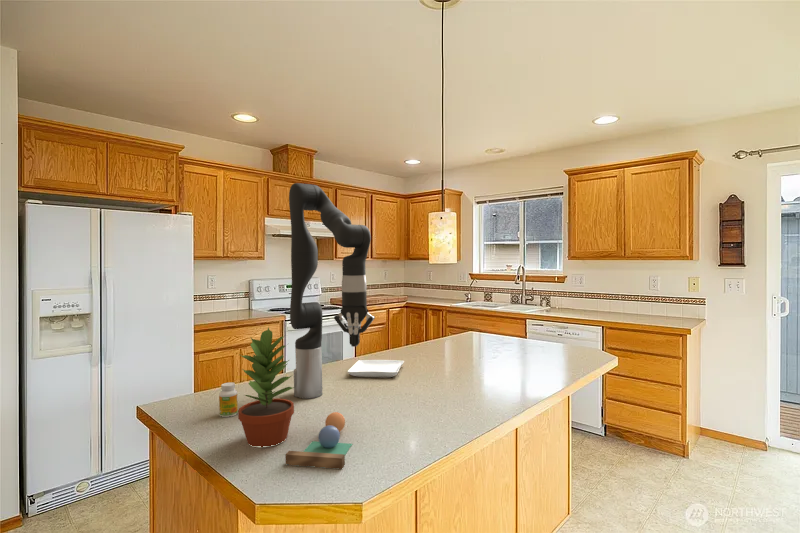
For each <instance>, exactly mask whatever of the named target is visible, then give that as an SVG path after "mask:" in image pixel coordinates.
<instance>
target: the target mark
mask: <svg viewBox="0 0 800 533" xmlns="http://www.w3.org/2000/svg"><path fill="white" fill-rule="evenodd" d="M352 445H353V443H346V442H344V443H343V442H338V443H337V445H336V446H334V447H332V448H325V447H323V446H322V445H321V444H320V442H319V440H318V441H315V440H312V441H311V442H310V444H309V445H308V446H307V447H306V448H305V449H304V450H303V451H302V452H315V453H330V454H344V455H345V456H346V455H347V453H348V452H349V451H350V449H351V447H352ZM349 448H350V449H349Z"/></svg>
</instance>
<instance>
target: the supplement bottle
mask: <svg viewBox="0 0 800 533" xmlns="http://www.w3.org/2000/svg"><path fill="white" fill-rule="evenodd" d="M220 386H221V388H220V389H221V391H220V392H219V394H218V405H219V412H218V413H219V416H220V417H221V416H222V417H221V418H230V417H229V416H231V417H233V416H236V415H237V414H238V411H239V407H238V406H239V405H238V402H239V400H238V391H237V389H235V388H236V384H235V382H232V381H231V382H225V383H222V384H221V385H220Z"/></svg>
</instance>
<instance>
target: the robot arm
mask: <svg viewBox="0 0 800 533" xmlns="http://www.w3.org/2000/svg"><path fill="white" fill-rule="evenodd" d="M288 203H289V204H288V206H289V215H290V216H289V217H290V218H289V219H290V229H291V230H290V231H291V232H290V233H291V234H290V235H291V237H290V238H291V241H290V242H291V243H290V244H291V245H290V260H291V261H290V264H291V265H290V268H291V294H290V306H289V307H290V309H289V321H290V325H291V327H292V329H294V330H304V329H309V330H308V331H307V332H306V334H304V335H302V336H300V337H298V338H297V339H296V340H295V342H294V344H295V345H294V346H295V348H294V349H295V350H294V351H295V368H294V369H293V387H294V388H293V396H294V397H296V398H300V399H315V398H318V397H320V396H322V395H323V362H322V361H323V358H322V356H323V355H322V351H323V350H322V339H323V308H322V305H321V304H320V303H319V302H317V301H312V302H303V297H304V293H305V291H306V288H307V286H308V284H309V283H310V281H311V279H312V277H313V276H314V274H315V273H316V271H317V269H318V263H319V262H318V261H319V260H318V259H319V257H318V256H319V255H318V254H319V252H318V251H319V250H318V245H317V243H316V241H315V239H314V237H313V236H312V234H311V233H310V231H309V229H308V227H307V225H306V222H305V215H304V214H305V213H304V211H316V212H318V213H320V214H319V215H320V220H321V223H322V224H323V226H324V227H325V228H327V229H328V230H329V231H330V232H331V233H332V236H333V237H334V239H335V241H336V243H337V245H339V246H340V247H343V248H346V249H347V248H349V249H352V248H354V249H353V252H352V253H351V254H349V255H346V256H344V257H343V258H342V264H341V265H342V266H341V267H342V277H341V309H340V313H338V314H337V315H334V317H333V319H334V321H335V322H336V323H337V325H338V326H339V327H340V328H341V330H342V331H343V332H344V333H347V334H348V336H349V338H348V339H349V345H351V347H354V348H356V347H358V346H359V345H360V343H361V342H360V341H361V338H360V336H361V334H362V333H364V332H366V331H367V329H368V328H369V327H370V326H371V324H372V323H373V321H374V320H375V318H376V316H375V315H372V314H371V313H369V309H368V304H367V301H368V300H367V296H368V295H367V292H368V291H367V289H368V286H367V277H366V272H367V271H366V261H367V257H368V253H369V249H370V245H371V240H372V236H371V231H370V228H368V226H366V225H364V224H352V221H351V219H350V218H349V217H348V215H347V214H345V213H344V212H343V211H341V210H340V209H338V208H337V207H336V206H335V205H334V203H333V202H332V201H331V199H330V198H329V197H328V196H327V193H325V191H324V190H323V189H322V188H321V187H320V186H318V185H317V184H311V183H303V182H302V183H300V182H294V183H293V184H292V185H291V186H290V189H289V192H288ZM364 319H365V323H364V324H363V326H362V322H364ZM295 386H296V387H295Z"/></svg>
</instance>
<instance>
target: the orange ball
mask: <svg viewBox="0 0 800 533" xmlns="http://www.w3.org/2000/svg"><path fill="white" fill-rule="evenodd" d="M324 424H325V426H328V425H332V426H334V427H336V428H337V429H338V430H339V433H340V432H341V431H342V430H344V428H345V426H346V418H345V417H344V415H343V414H342V413H340V412H336V411H334V412H331V413H329V414H328V415H327V416H326V419H325V423H324Z"/></svg>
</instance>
